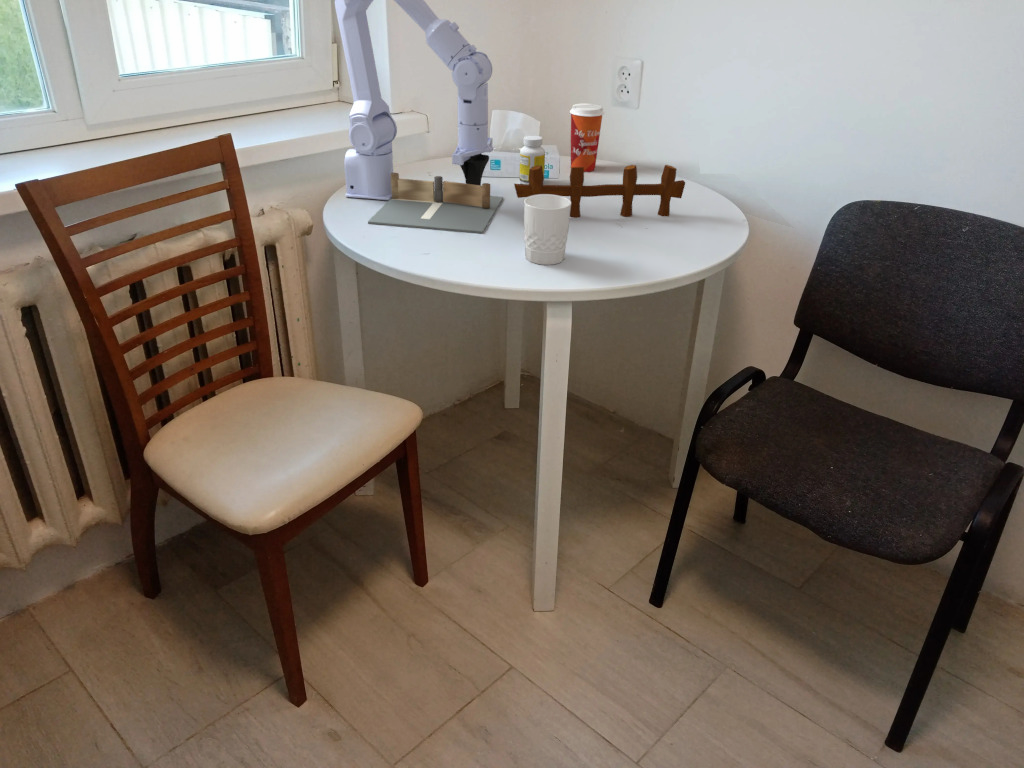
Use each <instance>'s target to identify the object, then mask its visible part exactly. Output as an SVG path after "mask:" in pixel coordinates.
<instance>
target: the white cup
mask: <svg viewBox="0 0 1024 768" xmlns="http://www.w3.org/2000/svg"><path fill="white" fill-rule="evenodd" d="M570 210H571V201H570V199H569V198H567V197H566V196H558V195H551V194H539V195H532V196H529V197H524V200H523V226H524V227H523V231H524V233H523V234H524V246H525V248H524V250H525V251H524V253H525V258H526V260H527V261H528V262H530V263H531V264H532V263H533V264H536V265H544V266H545V265H546V266H550V265H556V264H559V263H562V262H563V261H564V260H565V257H566V256H565V255H566V245H567V243H568V242H567V241H568V234H569V230H570V229H569V227H570V219H571V217H570Z"/></svg>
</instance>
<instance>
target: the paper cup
mask: <svg viewBox="0 0 1024 768" xmlns="http://www.w3.org/2000/svg"><path fill="white" fill-rule="evenodd" d="M569 113H570V168H571V167H584V173H591V172H594V171H596V170H595V169H596V164H597V159H598V158H597V157H598V149H599V145H600V143H599V142H600V135H601V128H602V120H603V115H604V114H605V112H604V108H603V107H602V105H600V104H594V103H586V102H585V103H576V104H573V105H572V106H571V109H570V110H569Z"/></svg>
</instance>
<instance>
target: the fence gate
mask: <svg viewBox="0 0 1024 768" xmlns="http://www.w3.org/2000/svg"><path fill="white" fill-rule="evenodd" d="M490 196H491V183H489V182H485V183H484V182H483V183H481V185H473V184H466V182H455V181H448V180H443V202H449V203H457V204H464V205H472V206H479V207H482V208H485V209H487V208H490Z"/></svg>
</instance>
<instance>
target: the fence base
mask: <svg viewBox="0 0 1024 768" xmlns="http://www.w3.org/2000/svg"><path fill="white" fill-rule="evenodd" d="M443 182H444V180H443V176H441V175H436V176H434V179H433V180H421V179H408V178H400V174H399V172H393V173H391V190H392V199H405V200H418V201H430V202H434V201H435V202H436V203H442V202H443ZM434 191H435V195H434Z"/></svg>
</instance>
